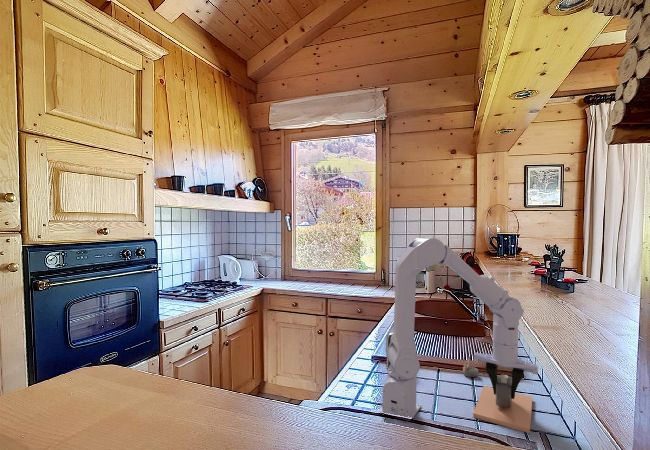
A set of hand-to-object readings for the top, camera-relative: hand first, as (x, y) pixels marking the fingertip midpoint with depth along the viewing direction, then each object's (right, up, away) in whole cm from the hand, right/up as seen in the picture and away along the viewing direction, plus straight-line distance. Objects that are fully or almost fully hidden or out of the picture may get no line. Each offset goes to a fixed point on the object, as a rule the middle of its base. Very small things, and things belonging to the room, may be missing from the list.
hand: (504, 395), depth 90 cm
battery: (-22, -3, +25) cm, 33 cm away
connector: (0, -2, 0) cm, 2 cm away
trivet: (0, -3, 0) cm, 3 cm away
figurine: (-1, -4, +20) cm, 21 cm away
